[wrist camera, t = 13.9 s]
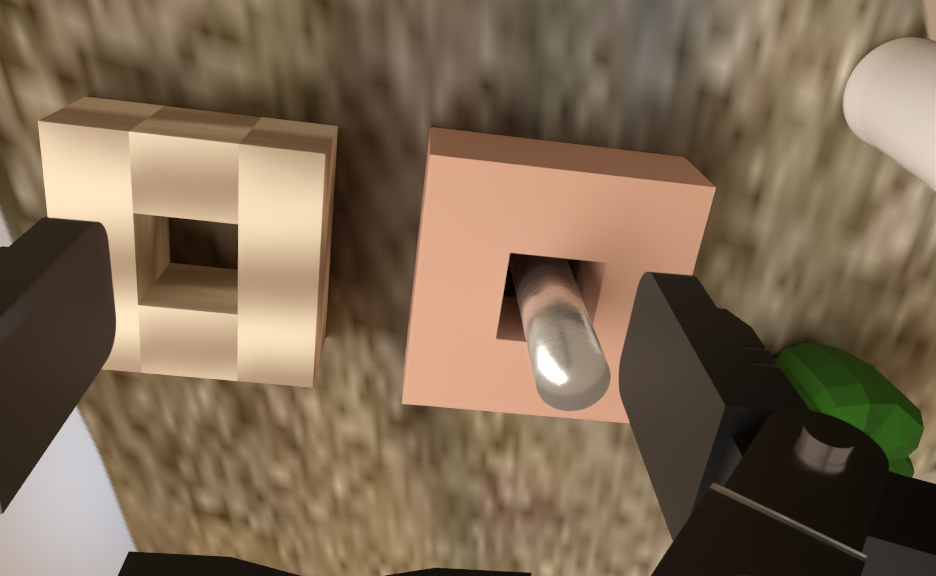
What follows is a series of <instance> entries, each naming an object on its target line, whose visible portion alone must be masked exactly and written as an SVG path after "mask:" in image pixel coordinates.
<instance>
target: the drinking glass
mask: <svg viewBox="0 0 936 576" xmlns="http://www.w3.org/2000/svg"><path fill="white" fill-rule="evenodd" d="M843 112H844V116H845V120H846V122H847V124H848V126H849V128H850V129H851V131H852V132H853V133H854V134H855V135H856V136H857V137H858V138H859V139H860V140H862V141H863V142H865V143H867V144H869V145H871V146H872V147H874V148H876V149H878V150H880V151H881V152H882V153H884V154H885V155H887V156H888V157H889V158H891V159H892V160H893V161H895V162H896V163H898V164H899V165H900V166H902V167H903V168H904V169H906V170H907V171H908V172H910V173H911V174H912V175H914V176H915V177H916V178H918V179H919V180H920V181H922V182H923V183H924V184H926V185H927V186H928V187H930V188H931V189H932V190H934V191H935V192H936V41H933V40H929V39H925V38H919V37H904V38H898V39H894V40H891V41H888V42H886V43H884V44H882V45H880V46H878V47H876V48H875V49H873V50H872V51H871V52H869V53H868V54H867V55H866V56H865V57H864V58H863V59H862V60H861V61H860V62H859V63H858V64H857V66H856V67H855V68H854V70H853V71H852V73H851V75H850V77H849V79H848V81H847V84H846V87H845V90H844V95H843Z"/></svg>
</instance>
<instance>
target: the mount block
mask: <svg viewBox="0 0 936 576" xmlns="http://www.w3.org/2000/svg"><path fill="white" fill-rule="evenodd" d="M38 126H39V136H40V145H41V155H42V165H43V175H44V184H45V194H46V204H47V214H48V217H50V218H61V219H72V220H83V221H95V222H100V223H102V224H103V226H104V227H105V229H106V232H107V236H108V242H109V251H110V261H111V271H112V281H113V291H114V301H115V311H116V333H115V340H114V344H113V348H112V351H111V353H110V356H109V358H108V359H107V361H106V362H105V364H104V365H103V367H102V368H101V369H107V370H118V371H130V372H141V373H153V374H164V375H176V376H187V377H199V378H210V379H222V380H233V381H245V382H256V383H268V384H279V385H290V386H302V387H313V385H314V381H315V377H316V373H317V369H318V365H319V361H320V358H321V354H322V350H323V346H324V342H325V336H326V319H327V302H328V286H329V269H330V252H331V235H332V219H333V202H334V185H335V168H336V152H337V135H338V126H333V125H325V124H316V123H307V122H299V121H290V120H282V119H273V118H265V117H256V116H248V115H239V114H231V113H222V112H214V111H205V110H197V109H188V108H179V107H171V106H162V105H154V104H145V103H137V102H128V101H120V100H111V99H103V98H94V97H84V98H82V99H80V100H78V101H76V102H74V103H72V104H70V105H68V106H66V107H64V108H62V109H60V110H59V111H57V112H55V113H53V114H51V115H49V116H47V117H45V118H43V119H41V120H39V121H38ZM169 217H174V218H184V219H193V220H203V221H212V222H222V223H231V224H238V269H228V268H218V267H208V266H198V265H188V264H178V263H170V241H169Z"/></svg>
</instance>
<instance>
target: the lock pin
mask: <svg viewBox="0 0 936 576" xmlns="http://www.w3.org/2000/svg"><path fill="white" fill-rule="evenodd" d="M509 263H510V269H511V274H512V278H513V283H514V287H515V292H516V297H517V301H518V306H519V310H520V315H521V319H522V324H523V329H524V333H525V338H526V342H527V347H528V351H529V356H530V361H531V365H532V370H533V374H534V379H535V383H536V388H537V391H538V393H539V395H540V397H541V398H542V400H543V401H544V402H545V403H547V404H548V405H550V406H551V407H553V408H556V409H559V410H563V411H577V410H582V409H585V408H588V407H590V406H592V405H593V404H595V403H596V402H598V401H599V400H600V399H601V398H602V397H603V396H604V394H605V393H606V391H607V389H608V387H609V384H610V379H611V374H610V369H609V366H608V363H607V361H606V358H605V356H604V353H603V350H602V348H601V345H600V343H599V340H598V338H597V335H596V332H595V330H594V327H593V325H592V322H591V320H590V317H589V314H588V312H587V309H586V307H585V304H584V302H583V299H582V297H581V294H580V291H579V289H578V286H577V284H576V281H575V279H574V276H573V273H572V271H571V268H570V266H569V263H568V261H567V259H566V258H556V257H546V256H537V255H527V254H518V253H511V255H510V260H509Z"/></svg>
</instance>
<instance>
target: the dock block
mask: <svg viewBox="0 0 936 576" xmlns="http://www.w3.org/2000/svg"><path fill="white" fill-rule="evenodd" d="M715 190H716V187H715V186H714V185H713V184H712V183H711V182H710V181H709V180H708V179H707V178H706V177H705V176H704V175H703V174H702V173H701V172H699V171H698V170H697V169H696V168H695V167H694V166H693V165H692V164H691V163H690V162H689V161H688V160H687V159H686V158H685V157H681V156H672V155H664V154H656V153H647V152H639V151H630V150H622V149H613V148H605V147H596V146H588V145H579V144H571V143H563V142H554V141H546V140H537V139H529V138H520V137H512V136H503V135H495V134H487V133H478V132H470V131H461V130H453V129H444V128H436V127H430V133H429V142H428V151H427V161H426V170H425V179H424V188H423V197H422V206H421V215H420V224H419V233H418V243H417V252H416V261H415V270H414V279H413V288H412V297H411V306H410V316H409V325H408V334H407V343H406V352H405V366H404V381H403V397H402V404H412V405H424V406H436V407H447V408H459V409H470V410H482V411H494V412H505V413H517V414H528V415H540V416H552V417H563V418H575V419H586V420H598V421H610V422H621V423H630V422H629V419H628V417H627V414H626V411H625V408H624V406H623V403H622V400H621V397H620V392H619V364H620V358H621V354H622V350H623V346H624V341H625V337H626V333H627V329H628V325H629V321H630V317H631V312H632V308H633V304H634V300H635V296H636V292H637V288H638V284H639V281H640V279H641V277H642V276H643V274H644V273H645V272H659V273H670V274H681V275H692V274H693V270H694V267H695V263H696V259H697V256H698V252H699V248H700V245H701V241H702V237H703V234H704V230H705V226H706V223H707V219H708V215H709V212H710V208H711V204H712V201H713V197H714V194H715ZM510 253H518V254H527V255H537V256H546V257H556V258H566V259H575V260H581V261H580V266H579V270H578V275H577V280H576V284H577V286H578V289H579V291H580V294H581V297H582V299H583V302H584V304H585V307H586V309H587V312H588V314H589V317H590V320H591V322H592V325H593V327H594V330H595V332H596V335H597V338H598V340H599V343H600V345H601V348H602V350H603V353H604V356H605V358H606V361H607V363H608V366H609V369H610V374H611V379H610V384H609V387H608V389H607V391H606V393H605V394H604V396H603V397H602V398H601V399H600V400H599V401H598V402H596V403H595V404H593V405H592V406H590V407H588V408H585V409H582V410H577V411H563V410H559V409H556V408H553V407H551V406H550V405H548V404H547V403H545V402H544V401H543V400H542V398H541V397H540V395H539V393H538V391H537V388H536V383H535V379H534V374H533V370H532V365H531V361H530V356H529V351H528V347H527V342H526V338H525V333H524V329H523V324H522V319H521V315H520V310H519V306H518V301H517V297H509V296H503V293H504V287H505V280H506V274H507V268H508V262H509V256H510Z"/></svg>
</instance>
